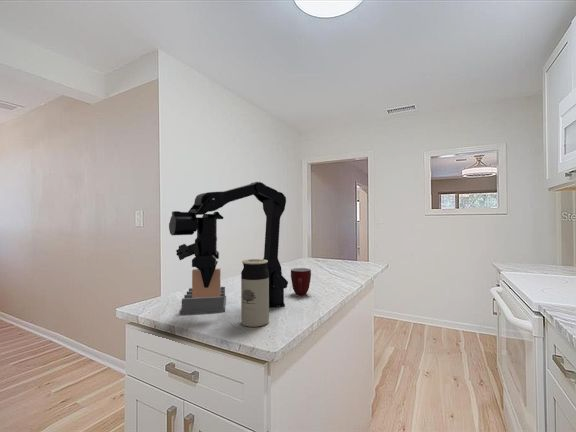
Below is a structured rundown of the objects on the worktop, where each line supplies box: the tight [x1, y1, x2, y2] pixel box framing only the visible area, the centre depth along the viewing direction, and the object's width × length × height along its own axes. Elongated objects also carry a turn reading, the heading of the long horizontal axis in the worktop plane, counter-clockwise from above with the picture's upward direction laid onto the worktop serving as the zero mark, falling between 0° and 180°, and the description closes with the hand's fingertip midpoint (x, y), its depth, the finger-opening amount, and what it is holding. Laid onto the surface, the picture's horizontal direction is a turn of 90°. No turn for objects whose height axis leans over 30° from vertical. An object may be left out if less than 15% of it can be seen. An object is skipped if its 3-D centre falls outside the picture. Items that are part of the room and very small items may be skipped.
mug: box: [290, 267, 312, 297], centre depth 114 cm, size 11×8×10 cm
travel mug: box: [240, 258, 270, 328], centre depth 84 cm, size 8×8×18 cm
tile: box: [191, 267, 222, 298], centre depth 87 cm, size 8×2×8 cm, turn 101°
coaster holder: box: [179, 286, 227, 315], centre depth 101 cm, size 14×16×5 cm
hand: (206, 286), depth 87 cm, fingers closed on tile, 2 cm apart
